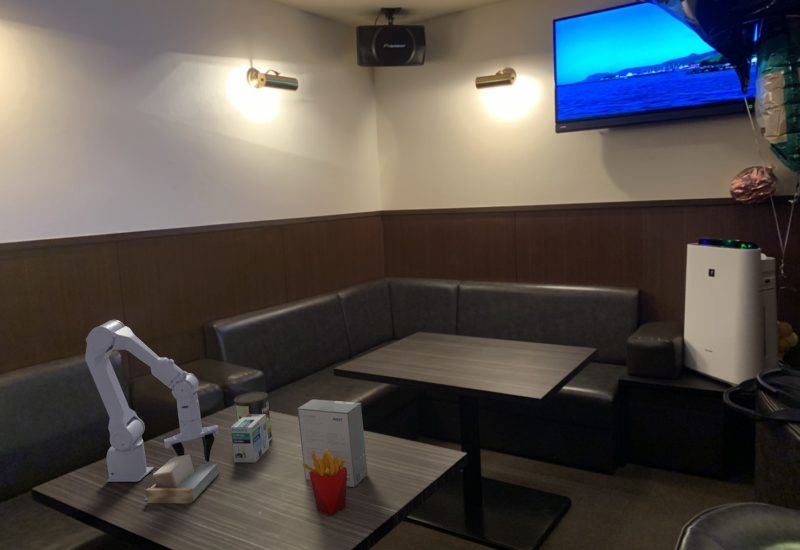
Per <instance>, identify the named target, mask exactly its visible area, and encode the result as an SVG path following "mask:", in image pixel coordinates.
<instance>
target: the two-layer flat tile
mask: <svg viewBox="0 0 800 550" xmlns="http://www.w3.org/2000/svg"><path fill="white" fill-rule="evenodd" d="M194 471H195V472H194V473H193V474H192V475H190V476H189V477H188V478H187V479H186V480H185V481H184V482H183V483H182V484H181V485H180V486H179V487H178V488H192V492H193V500H194V501H195V500H196V499H197V498H198V497H199V496H200V494H201V493H202V492H203V491H204V490H205V489H206V488H207V487H208V486H209V485H210V484H211V482H213V481H214V480H215V479H216V477H218V475H219V474H220V467H219V463H201V465H200V466H199V467H198V468H197V469H195V470H194Z"/></svg>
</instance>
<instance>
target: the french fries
mask: <svg viewBox="0 0 800 550" xmlns="http://www.w3.org/2000/svg"><path fill="white" fill-rule="evenodd" d="M329 451H330V450H328V449H326V451H325V452H323V457H322V458H321V457H318V458H317V459H316V455H315V452H314V451H313V452H311V455H312V458H313V461H314V463H313V465H314V467H315V469H313V468H311V467H310V466H308V465H307V464H305V463H302V464H301V466H302V467H303V468H304V467H305V468H307V469H308V470H310V472H309V475H310V479H311V480H310V483H311V484H310V485H311V487H312V494H313V497H314V501H315V505H316V506H315V507H316V510H317V511H318V512H319V513H323V514H325V515H326V516H329V517H333V516H335V515H336V514H338V513H339V512H340V511H342V510H344V509H346V508H347V487H348V486H347V468H345V467H343V466H344V462H345V458H342V459H341V460H340V461H339V460H338V459H337V458H338V457H337V455H336V456H334V462H333V459H332V457H331V455H329ZM338 461H339V462H338Z"/></svg>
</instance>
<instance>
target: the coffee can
mask: <svg viewBox="0 0 800 550" xmlns="http://www.w3.org/2000/svg"><path fill="white" fill-rule="evenodd" d="M233 402H234V408H235V414H236V415H235V416H236V422H238V421H239V420H240V419H241V418H242V417H243V416H244V415H245V414H266V421H267V430H268V439H269V442H270V441H271V440H272V439H273V435H272V434H273V433H272V425H271V416H270V404H269V395H268V393H267V392H266V391H265V392H264V391H251V392H245V393H242V394H239V395H237V396H236V397H234V399H233Z"/></svg>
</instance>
